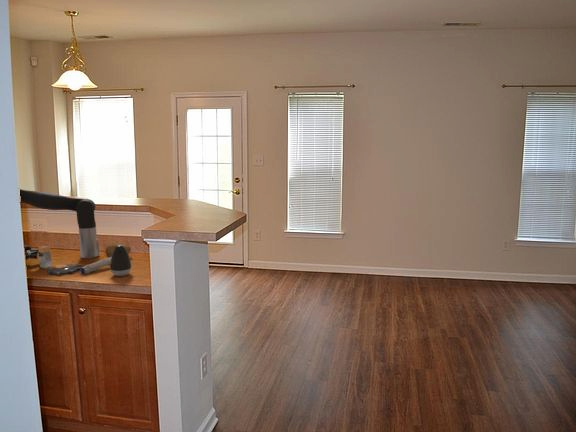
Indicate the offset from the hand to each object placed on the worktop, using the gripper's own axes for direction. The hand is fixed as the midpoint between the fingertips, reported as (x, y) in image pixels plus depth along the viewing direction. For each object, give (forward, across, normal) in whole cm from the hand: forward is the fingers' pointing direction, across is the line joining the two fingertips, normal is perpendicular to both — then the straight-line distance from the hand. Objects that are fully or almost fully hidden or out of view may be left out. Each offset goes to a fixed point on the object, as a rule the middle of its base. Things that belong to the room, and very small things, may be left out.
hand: (43, 254), depth 256 cm
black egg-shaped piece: (+49, +2, +7) cm, 49 cm away
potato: (+27, +27, +7) cm, 39 cm away
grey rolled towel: (+32, +8, +7) cm, 34 cm away
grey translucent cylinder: (+1, 0, +6) cm, 7 cm away
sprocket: (+16, -2, +6) cm, 18 cm away
